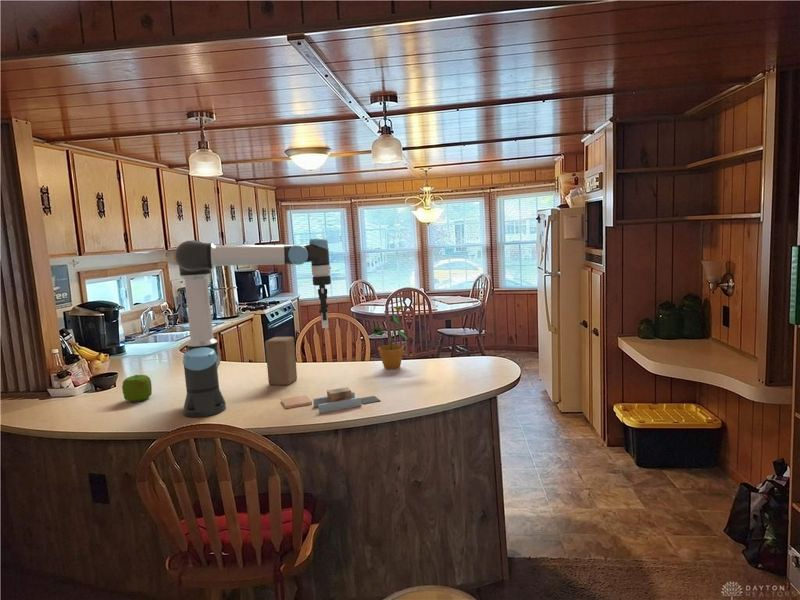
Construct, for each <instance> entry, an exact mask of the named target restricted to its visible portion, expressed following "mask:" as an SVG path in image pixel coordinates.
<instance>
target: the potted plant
mask: <svg viewBox="0 0 800 600" xmlns="http://www.w3.org/2000/svg"><path fill="white" fill-rule="evenodd" d="M407 307H408V306H402V305H401V306H399V305H398V306H391V307H390V309H395V310H397V311H398V313H397V317H396V316H395V315H393V316H392V317H391V319H390V320H389V321H390V322H392V323H395V325H394V328H393V330H392V333H391V335H390V334H389V333H387V331H386V330H385V326H373V329H374V330H373V331H372V332H371V335H377V336H381V337H382V336H383V335H384V334H386V335H388V337H389V338H390V343H389V344H385V345H380V346H379V347H378V348H377V350H378V352H379V355H380V359H381V362H382V364H383V368H384V369H385V370H387V369H394V370H397V369H396V368H398V369H400V368H401V364H402V360H403V355H404V350H405V346H404V345H403V344H395V343H393V337H394V333H395V332H397V335H398V336H400V337H402V338H403V339H406V340H408V335H407V333H405V332H403V331H401V330H399V328H397V327H399V326H400V325H399V324H400V323H401V321H400V320H399V316H400V311H401V310H402V309H403V308H404V309H405V308H407ZM396 326H397V327H396ZM382 328H383V330H381V329H382ZM396 328H397V329H396ZM399 367H400V368H399Z"/></svg>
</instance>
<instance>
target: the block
mask: <svg viewBox="0 0 800 600" xmlns="http://www.w3.org/2000/svg"><path fill="white" fill-rule="evenodd" d="M351 392H352V389H350V388H349V387H346V386H345V387H341V388H334V389H329V390H328V389H327V390H326V394H327V395H326V396H327V398H328V403H329V402H335V401H341V400H347V399H352V395H351Z"/></svg>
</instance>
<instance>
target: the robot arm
mask: <svg viewBox="0 0 800 600" xmlns="http://www.w3.org/2000/svg"><path fill="white" fill-rule="evenodd" d="M329 250H330V249H329V243H328V240H327V238H323V237H322V238H321V237H320V238H311V239H309V243H306V244H304V243H303V244H275V245H274V244H264V245H263V244H259V245H258V244H252V245H251V244H250V245H248V244H247V245H246V244H245V245H238V244H237V245H215V244H214V243H213V242H202V241H199V240H193V239H192V240H186V241H183V242H181V243H180V244H179V245H178V246H177V247H176V249H175V252H174V259H175V262H176V264H177V265H178V267H179V268H178V269H179V270H178V271H179V276H180V278H181V279H183V280H184V285H185V287H184V289H185V297H186V305H187V306H186V308H187V315H188V316H187V317H188V327H189V337H190V338H189V339H190V340H188V342H187V343H186V348H187V349H186V350H187V351H186V352H184V354H183V357H182V364H183V369H184V370H183V371H184V378H185V388H186V396H185V399H184V404H183V415H184V416H185V417H189V418H202V417H203V418H204V417H210V416H213V415H217V414H219V413H221V412H224V411H225V410H226V408H227V405H226V401H225V398H224V395H223V394H222V392H221V390H220V384H219V381H220V380H219V373H218V370H219V366H220V364H221V354H220V352H219V344H218V343H219V342H218V340H217V339H216V338H215V337H214V332H213V331H214V330H213V320H212V310H211V300H210V299H211V298H210V288H209V278H210V277H211V275H212V270H214V269H215V268H216V267H223V266H225V267H228V266H229V267H231V266H264V265H265V266H266V265H267V266H268V265H269V266H270V265H271V266H272V265H273V266H274V265H296V266H298V265H300V266H301V265H303V264H305V263H311V266H310V267H311V268H310V269H311V274H312V285H313V286H316V287H317V286H318V289H317V294H318V300H320V310H319V311H318V312H319V314H320V318H321V329H329V316H328V315H329V314H328V308H329V304H327V303H328V302H327V300H328V288H326V286H329V285H331V283H332V281H331V275H330V274H331V269H332V267H331V266H330V254H329Z"/></svg>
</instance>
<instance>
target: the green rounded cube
mask: <svg viewBox="0 0 800 600" xmlns="http://www.w3.org/2000/svg"><path fill="white" fill-rule="evenodd" d="M152 386H153V385H152V380H151V378H150V376H149V375H145V374H135V375H130V376H129V377H126V378H125V379H123V381H122V385H121V389H122V394H123V398H124V400H125V401H128V402H132V403H133V402H134V403H135V402H143V401H145V400H148V398H149V397H151V395H152V392H153V391H152V389H153V388H152Z"/></svg>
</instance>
